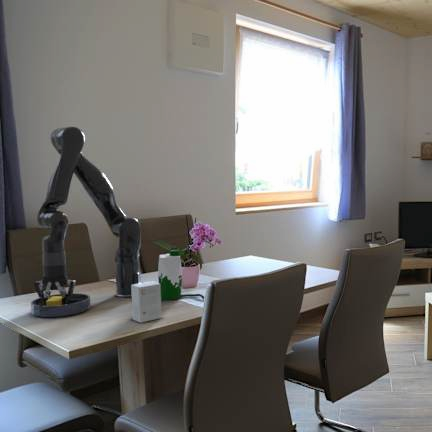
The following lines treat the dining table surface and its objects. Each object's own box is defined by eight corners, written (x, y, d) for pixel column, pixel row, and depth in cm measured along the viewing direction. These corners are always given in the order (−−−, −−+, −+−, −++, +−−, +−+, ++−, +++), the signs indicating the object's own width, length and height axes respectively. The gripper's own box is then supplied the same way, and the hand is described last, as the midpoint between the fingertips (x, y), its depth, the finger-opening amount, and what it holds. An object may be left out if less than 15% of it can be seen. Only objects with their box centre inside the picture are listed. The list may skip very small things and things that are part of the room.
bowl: (96, 303, 219) (95, 292, 219) (81, 317, 201) (81, 305, 200) (42, 305, 215) (42, 294, 214) (22, 319, 196) (22, 307, 196)
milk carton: (182, 299, 228) (181, 251, 226) (159, 301, 224) (157, 252, 222) (181, 294, 236) (180, 248, 234) (158, 296, 232) (157, 249, 230)
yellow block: (52, 306, 211) (52, 296, 211) (66, 306, 212) (65, 295, 212) (46, 311, 204) (45, 301, 204) (60, 311, 205) (59, 300, 205)
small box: (153, 314, 205) (152, 280, 204) (162, 318, 201) (161, 283, 200) (131, 319, 199) (130, 284, 198) (140, 323, 195) (139, 287, 194)
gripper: (78, 260, 212) (80, 304, 213) (36, 261, 208) (39, 305, 210) (72, 264, 204) (74, 309, 206) (29, 265, 201) (31, 311, 203)
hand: (56, 307), depth 208 cm, fingers closed on yellow block, 4 cm apart
